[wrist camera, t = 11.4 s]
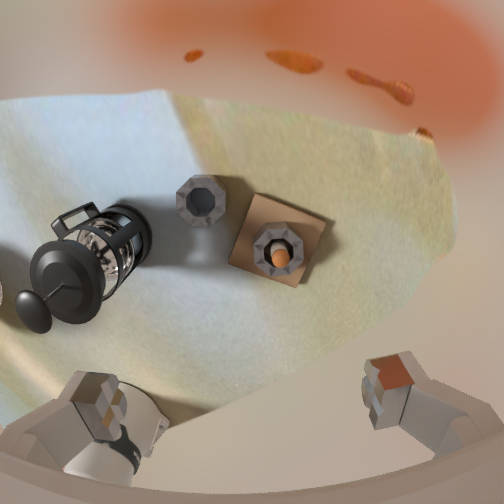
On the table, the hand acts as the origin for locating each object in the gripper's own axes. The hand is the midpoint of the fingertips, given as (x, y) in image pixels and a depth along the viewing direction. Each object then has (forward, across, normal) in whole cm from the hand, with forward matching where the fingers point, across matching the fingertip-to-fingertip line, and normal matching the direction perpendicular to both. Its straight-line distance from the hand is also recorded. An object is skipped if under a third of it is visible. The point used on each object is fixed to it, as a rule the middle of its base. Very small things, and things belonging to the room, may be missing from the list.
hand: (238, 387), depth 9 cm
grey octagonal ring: (+34, +6, -1) cm, 35 cm away
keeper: (+34, -3, +6) cm, 35 cm away
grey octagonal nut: (+33, -3, +6) cm, 34 cm away
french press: (+35, +18, +3) cm, 39 cm away
